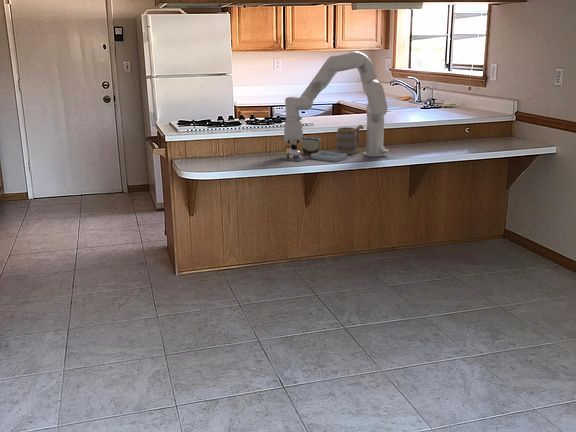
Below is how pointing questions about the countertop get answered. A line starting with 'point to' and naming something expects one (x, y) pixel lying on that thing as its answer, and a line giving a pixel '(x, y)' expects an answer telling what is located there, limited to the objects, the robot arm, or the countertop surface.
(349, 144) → the tankard
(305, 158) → the crank base
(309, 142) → the food container
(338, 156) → the tray
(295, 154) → the crank lever
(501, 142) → the countertop surface
